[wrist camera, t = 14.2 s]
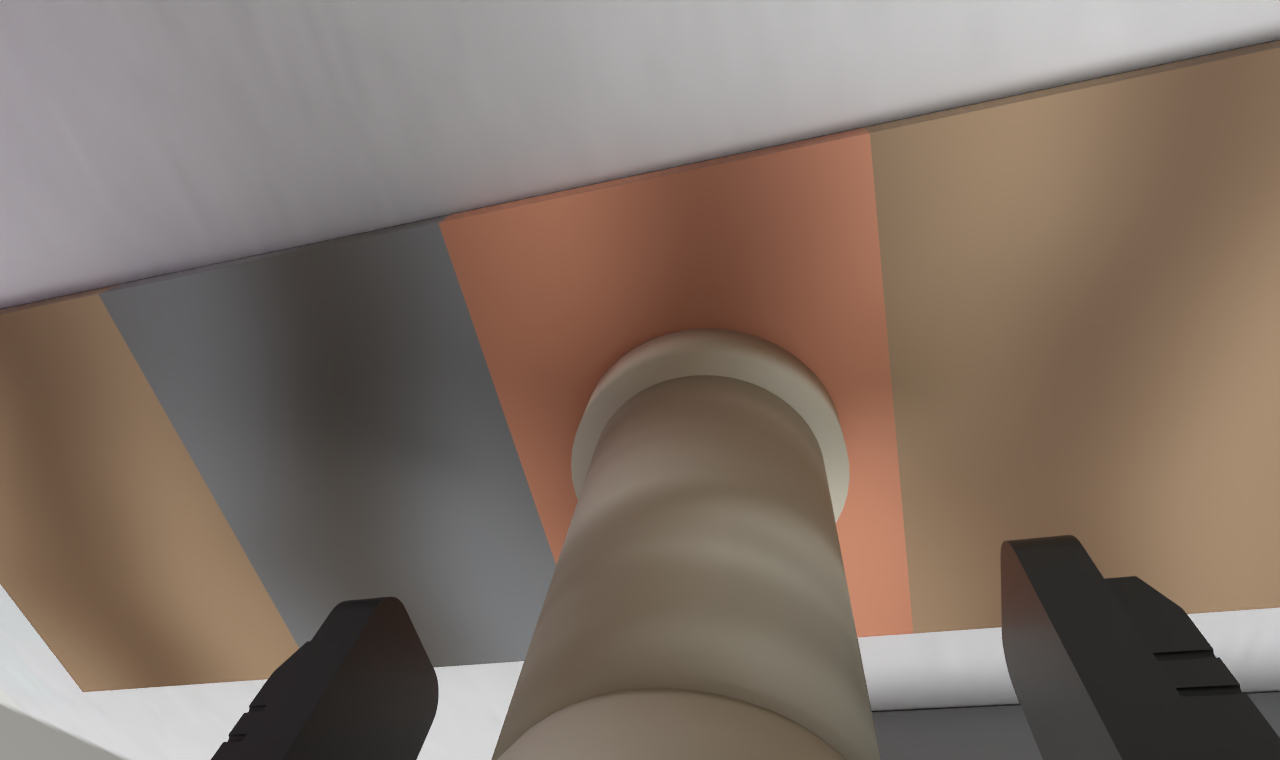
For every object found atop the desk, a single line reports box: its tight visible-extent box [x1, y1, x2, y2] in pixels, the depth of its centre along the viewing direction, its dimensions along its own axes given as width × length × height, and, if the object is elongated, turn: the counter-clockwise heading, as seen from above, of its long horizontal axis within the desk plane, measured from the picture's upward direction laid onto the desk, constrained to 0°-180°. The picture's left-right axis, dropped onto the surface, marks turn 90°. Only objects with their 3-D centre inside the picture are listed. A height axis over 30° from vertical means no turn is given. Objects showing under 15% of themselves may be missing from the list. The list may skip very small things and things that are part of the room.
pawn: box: [492, 328, 881, 760], centre depth 9 cm, size 5×5×10 cm
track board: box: [0, 40, 1280, 692], centre depth 14 cm, size 28×10×1 cm, turn 103°
